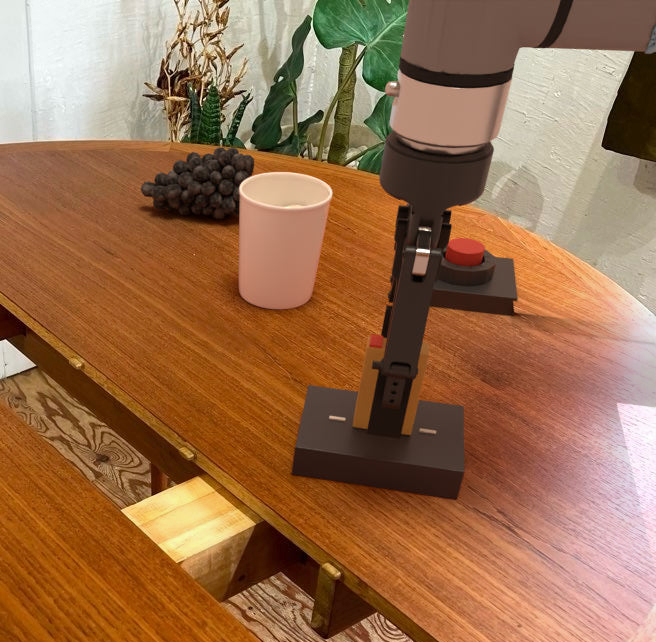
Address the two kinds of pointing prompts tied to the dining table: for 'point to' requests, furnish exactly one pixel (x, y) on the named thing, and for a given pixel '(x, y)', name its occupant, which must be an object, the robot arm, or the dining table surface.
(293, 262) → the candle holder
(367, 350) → the tan upright plank
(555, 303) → the dining table surface
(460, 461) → the dark lever base block
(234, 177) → the fruit
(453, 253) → the bell button
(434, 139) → the robot arm
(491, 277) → the bell block
